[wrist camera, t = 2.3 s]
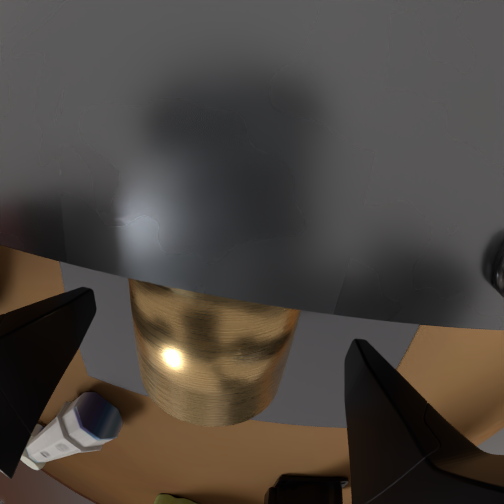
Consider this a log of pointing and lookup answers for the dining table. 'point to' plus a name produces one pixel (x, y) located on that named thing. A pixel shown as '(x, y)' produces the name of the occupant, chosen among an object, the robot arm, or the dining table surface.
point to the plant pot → (171, 500)
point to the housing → (264, 149)
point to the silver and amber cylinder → (209, 352)
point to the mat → (296, 370)
